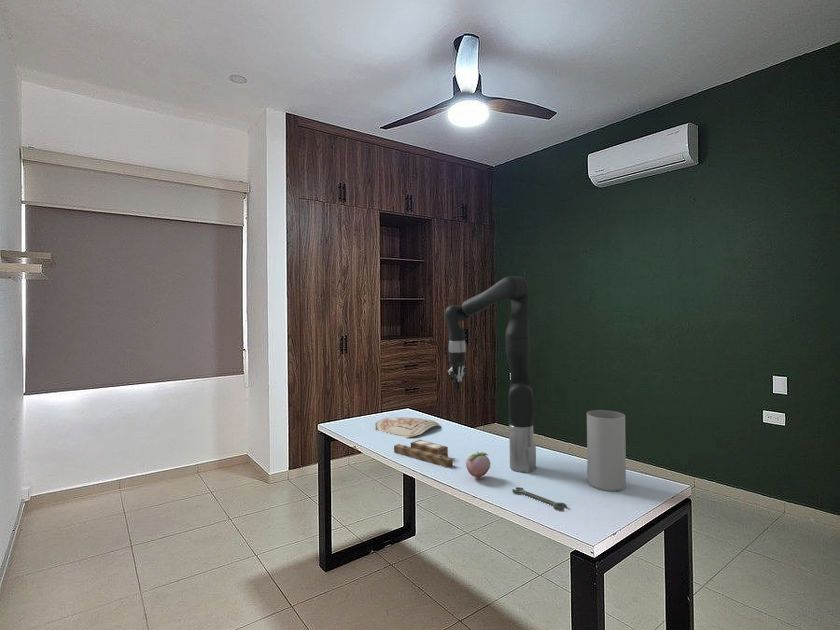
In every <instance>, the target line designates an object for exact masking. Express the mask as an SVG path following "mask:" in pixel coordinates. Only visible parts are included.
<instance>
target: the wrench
mask: <svg viewBox="0 0 840 630" xmlns="http://www.w3.org/2000/svg"><path fill="white" fill-rule="evenodd" d="M511 490H512V491H511V492H513V493H512V494H513V495H521V494H522V496H524V495H525V496H524V497H526V496H528V497H527V498H529V497H530V499H531V498H533V499H532V500H534V499H535V501H537V500H538V501H537V502H539V501H541V502H540V503H542V502H543V503H542V504H544V503H546V504H545V505H547V504H549V505H548V506H550V505H551V506H550V507H552V506H553V507H552V508H553V510H554V509H555V511H558V510H559V511H558V512H565V508H566V510H568V505H567V504H565V503H564V502H557V501H553V500H551V499H549V498H547V497H546V498H545V497H544V496H540V495H537V494H534V493H532V492H530V491H527V490H525V489H524V487H519V486H516V487H515V489H514V488H512V489H511Z"/></svg>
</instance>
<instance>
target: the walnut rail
mask: <svg viewBox="0 0 840 630" xmlns="http://www.w3.org/2000/svg"><path fill="white" fill-rule="evenodd" d="M393 446H394V447H393V450H394V451H393V453H395V454H398V455H402V456H405V457H409V458H412V459H416V460H420V461H422V462H427V463H430V464H433V465H437V466H440V465H441V466H440V467H444V468H447V469H448V468H451V467H452V466H454V463H453V462H454V459H453V457H449V456H448V457H446V456H442V455H439V454H435V453H431V452H427V451H423V450H419V449H416V448H412V447H411V446H408V445H406V444H405V445H403V444H399V443H398V444H395V445H393Z"/></svg>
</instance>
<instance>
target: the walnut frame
mask: <svg viewBox="0 0 840 630" xmlns="http://www.w3.org/2000/svg"><path fill="white" fill-rule="evenodd" d="M410 447H412V448H416V449H419V450H423V451H427V452H431V453H435V454H439V455H442V456H446V457H449V454H448V453H449V449H448V448H449V447H448V446H446V445H442V444H438V443H436V442H435V443H434V442H430V441H427V440H423V439H418V440H415V441H412V442H410Z"/></svg>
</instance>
